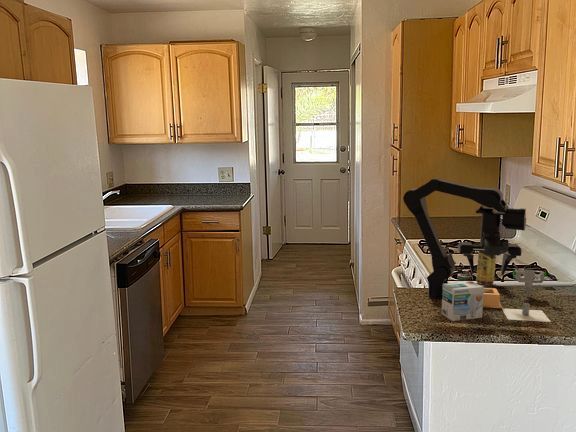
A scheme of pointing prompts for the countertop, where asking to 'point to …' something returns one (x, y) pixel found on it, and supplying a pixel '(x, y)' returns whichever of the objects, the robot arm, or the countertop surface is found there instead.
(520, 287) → the countertop surface
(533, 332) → the countertop surface
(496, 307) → the stand
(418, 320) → the countertop surface
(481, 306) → the light bulb box
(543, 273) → the mechanical component
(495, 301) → the collar
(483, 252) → the sauce bottle
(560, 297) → the countertop surface
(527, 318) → the hub board
